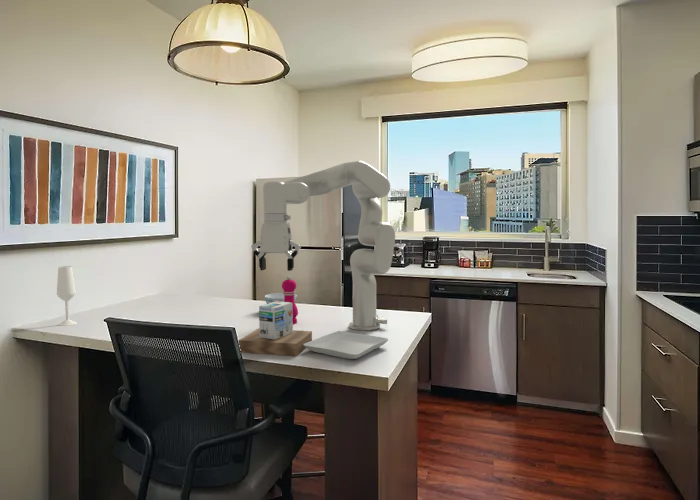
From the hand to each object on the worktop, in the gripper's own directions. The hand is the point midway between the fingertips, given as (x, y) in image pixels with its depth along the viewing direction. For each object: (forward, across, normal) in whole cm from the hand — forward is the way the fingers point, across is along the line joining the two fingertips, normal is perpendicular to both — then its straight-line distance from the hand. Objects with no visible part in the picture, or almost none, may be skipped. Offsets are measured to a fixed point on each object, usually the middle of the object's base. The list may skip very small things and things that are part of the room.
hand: (276, 270), depth 147 cm
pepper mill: (+27, +8, -33) cm, 44 cm away
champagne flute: (+26, +98, -12) cm, 103 cm away
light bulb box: (+22, 0, 0) cm, 23 cm away
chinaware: (+27, +20, -54) cm, 64 cm away
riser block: (+26, 0, +1) cm, 26 cm away
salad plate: (+27, -23, -2) cm, 36 cm away
